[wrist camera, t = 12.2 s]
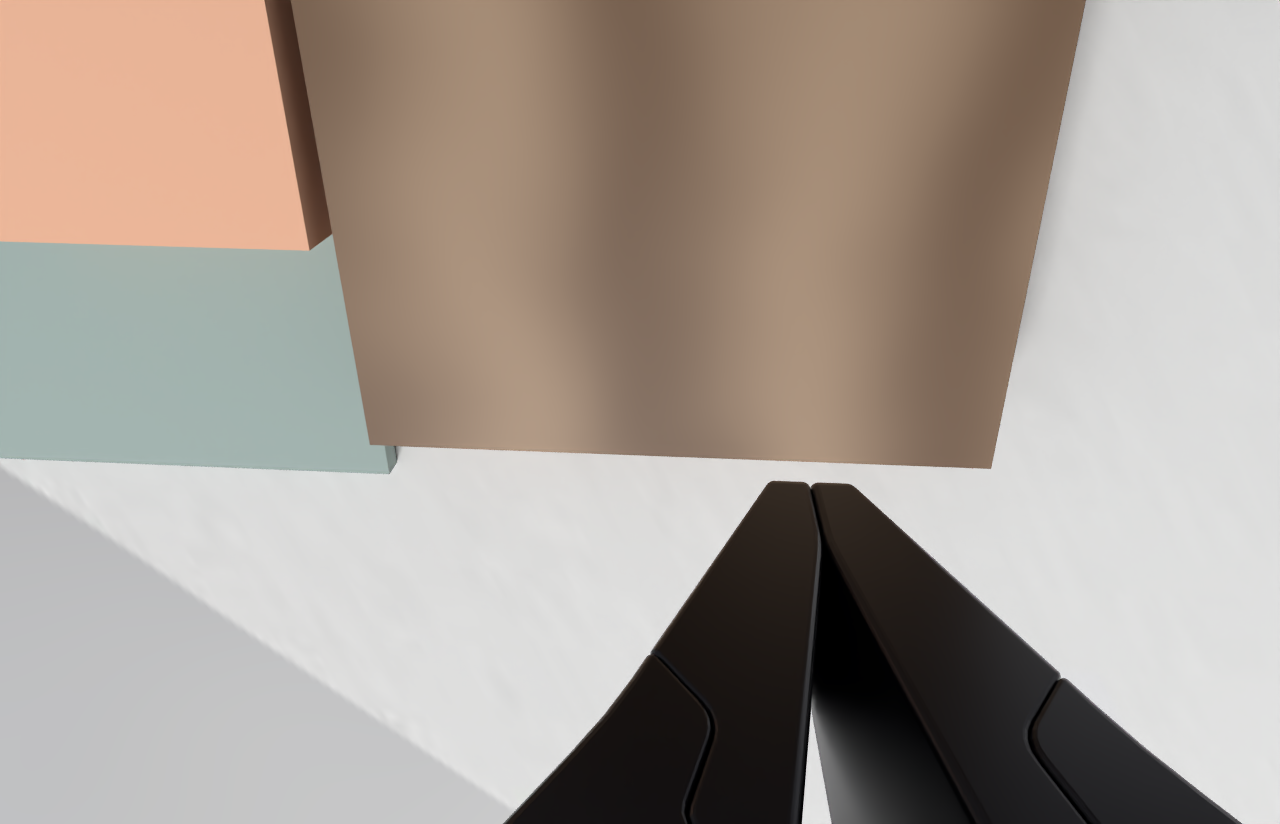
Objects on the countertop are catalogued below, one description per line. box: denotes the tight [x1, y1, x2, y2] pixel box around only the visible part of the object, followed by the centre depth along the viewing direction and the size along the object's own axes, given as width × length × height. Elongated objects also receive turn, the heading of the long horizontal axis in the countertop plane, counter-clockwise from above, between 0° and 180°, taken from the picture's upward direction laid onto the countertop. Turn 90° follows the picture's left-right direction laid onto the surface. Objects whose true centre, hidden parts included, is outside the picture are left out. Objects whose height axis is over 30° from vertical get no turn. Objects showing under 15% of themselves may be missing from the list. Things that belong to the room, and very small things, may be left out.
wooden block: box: [291, 0, 1086, 469], centre depth 17 cm, size 14×16×2 cm
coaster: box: [0, 0, 332, 251], centre depth 18 cm, size 7×7×2 cm
